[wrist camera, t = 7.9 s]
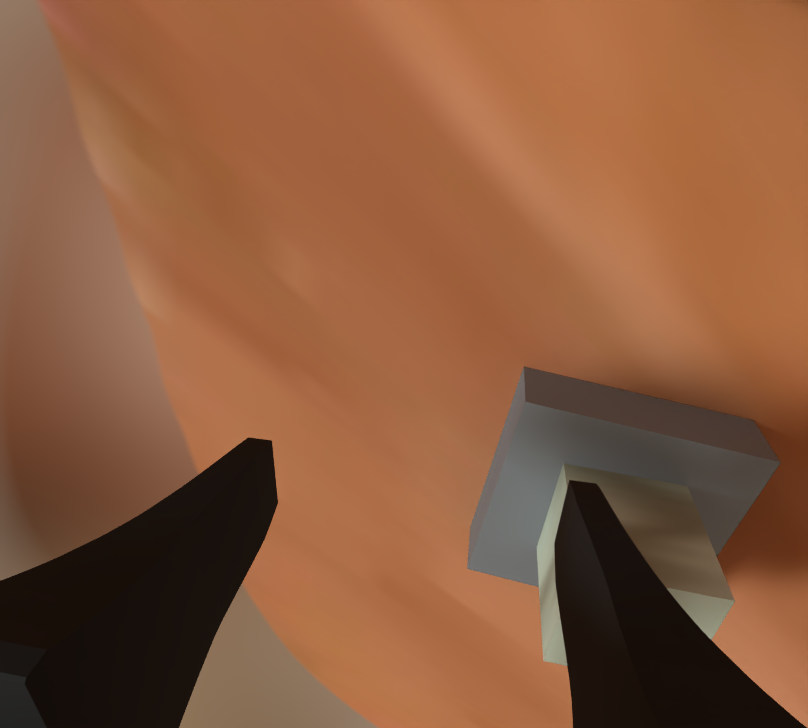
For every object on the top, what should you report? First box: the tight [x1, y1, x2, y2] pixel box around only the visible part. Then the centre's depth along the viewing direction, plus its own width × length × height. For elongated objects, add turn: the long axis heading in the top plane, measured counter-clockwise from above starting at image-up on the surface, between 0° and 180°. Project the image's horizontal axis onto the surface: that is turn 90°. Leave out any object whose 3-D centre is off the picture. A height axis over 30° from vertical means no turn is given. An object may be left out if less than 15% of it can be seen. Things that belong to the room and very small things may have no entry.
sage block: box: [537, 463, 735, 666], centre depth 20 cm, size 4×4×5 cm
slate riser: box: [467, 367, 781, 587], centre depth 23 cm, size 9×9×3 cm
